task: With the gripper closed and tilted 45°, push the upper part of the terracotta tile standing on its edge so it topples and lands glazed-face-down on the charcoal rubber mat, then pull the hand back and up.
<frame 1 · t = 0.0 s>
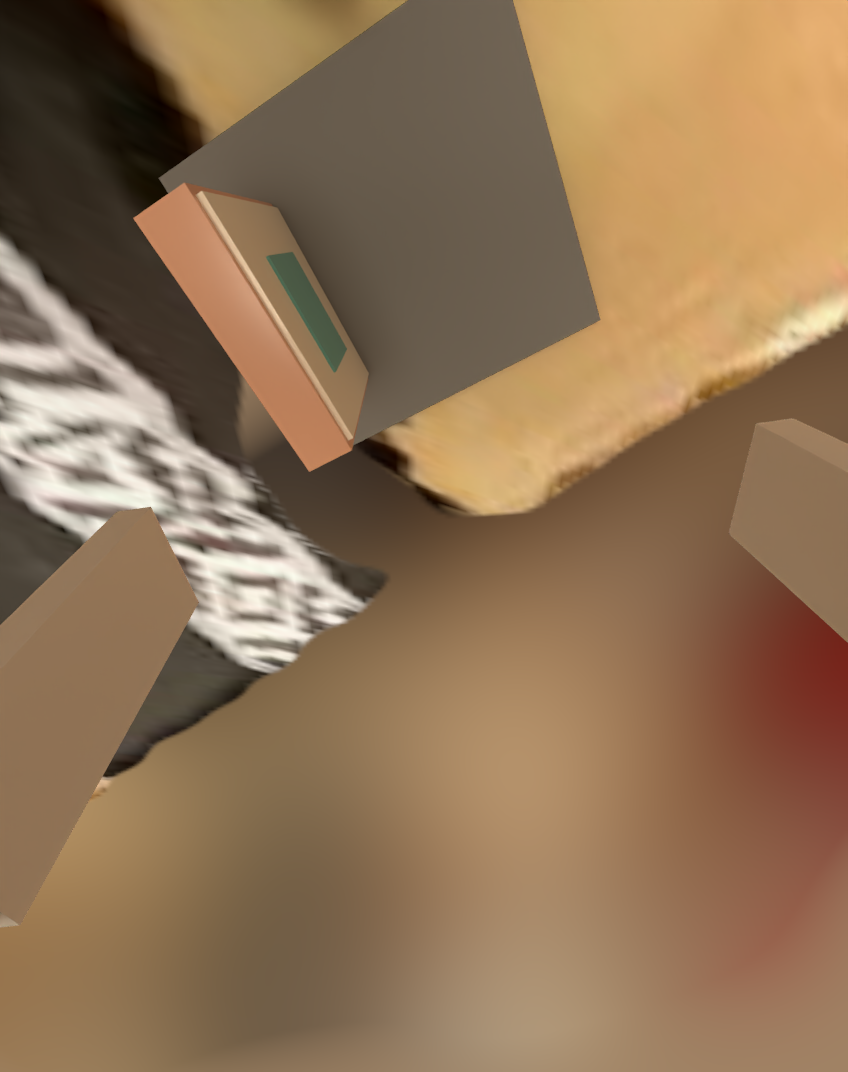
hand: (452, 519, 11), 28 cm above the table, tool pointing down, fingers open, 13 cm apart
mat: (398, 254, 32), on the table
tile: (308, 308, 33), point 1 cm above the table, touching mat
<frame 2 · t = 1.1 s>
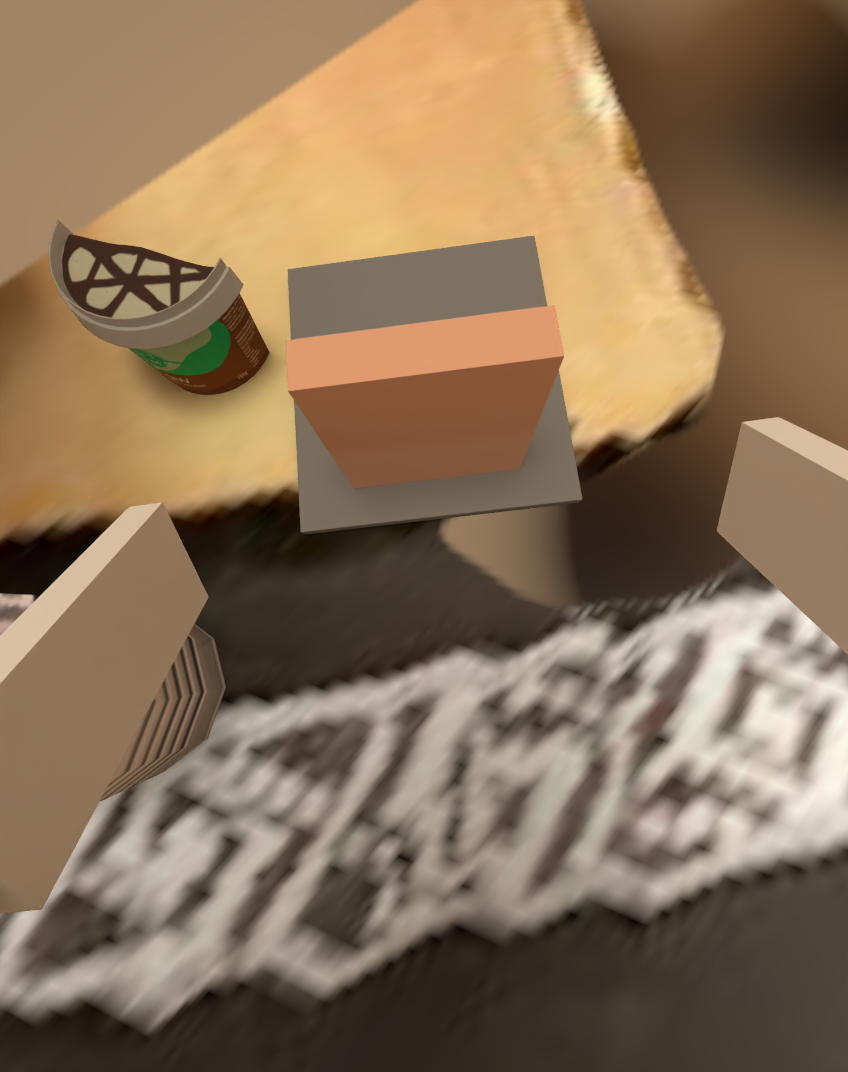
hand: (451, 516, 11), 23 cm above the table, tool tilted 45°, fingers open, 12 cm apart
food container: (203, 373, 38), on the table
mat: (424, 381, 37), on the table
tile: (434, 462, 35), point 1 cm above the table, touching mat
can: (149, 688, 33), on the table
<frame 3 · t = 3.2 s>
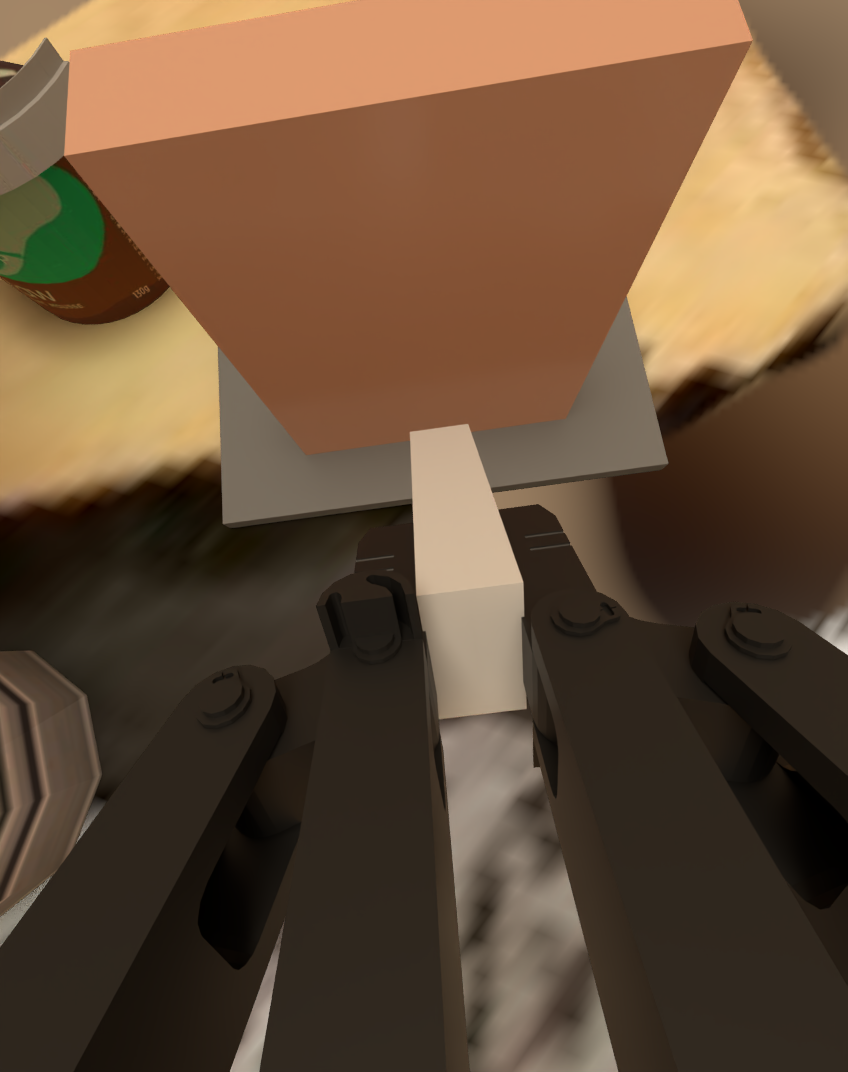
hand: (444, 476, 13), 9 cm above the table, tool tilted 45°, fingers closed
food container: (89, 295, 26), on the table
mat: (414, 295, 24), on the table
tile: (431, 412, 22), point 1 cm above the table, touching mat
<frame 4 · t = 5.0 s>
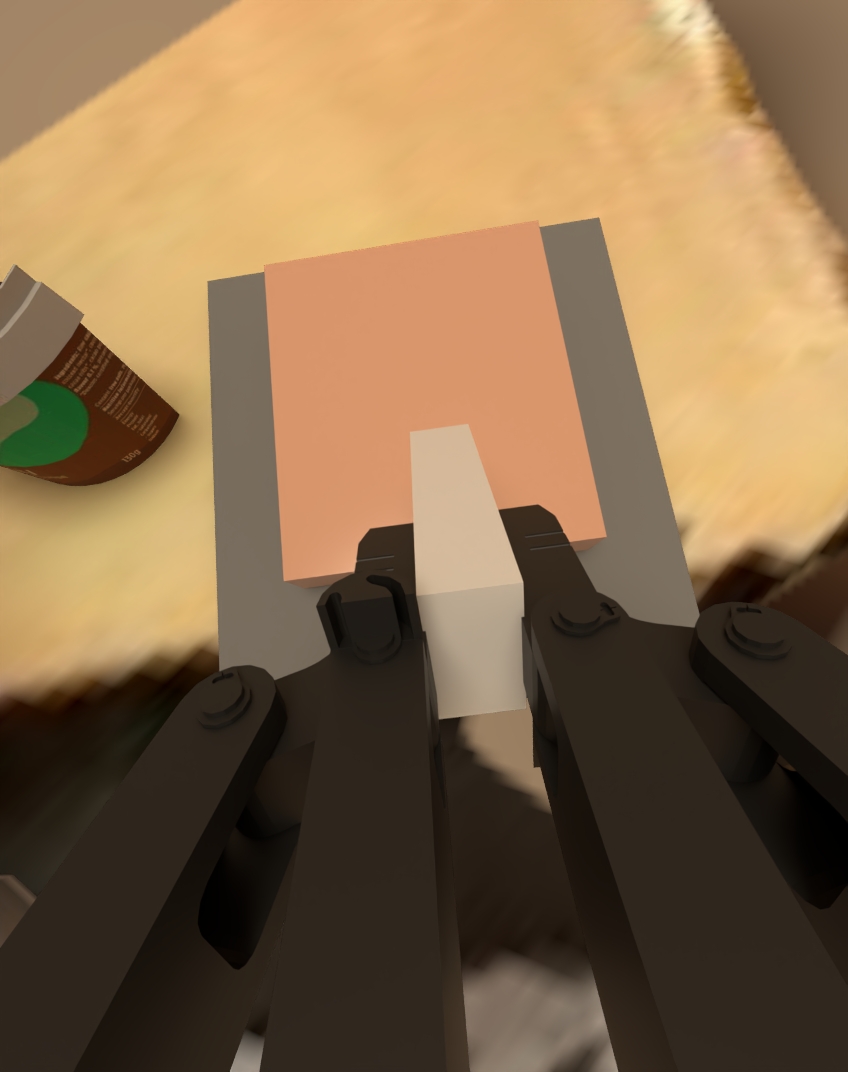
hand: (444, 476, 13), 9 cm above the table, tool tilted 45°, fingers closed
food container: (76, 449, 24), on the table
mat: (429, 458, 22), on the table
tile: (444, 564, 19), point 2 cm above the table, tilted 90°, touching mat
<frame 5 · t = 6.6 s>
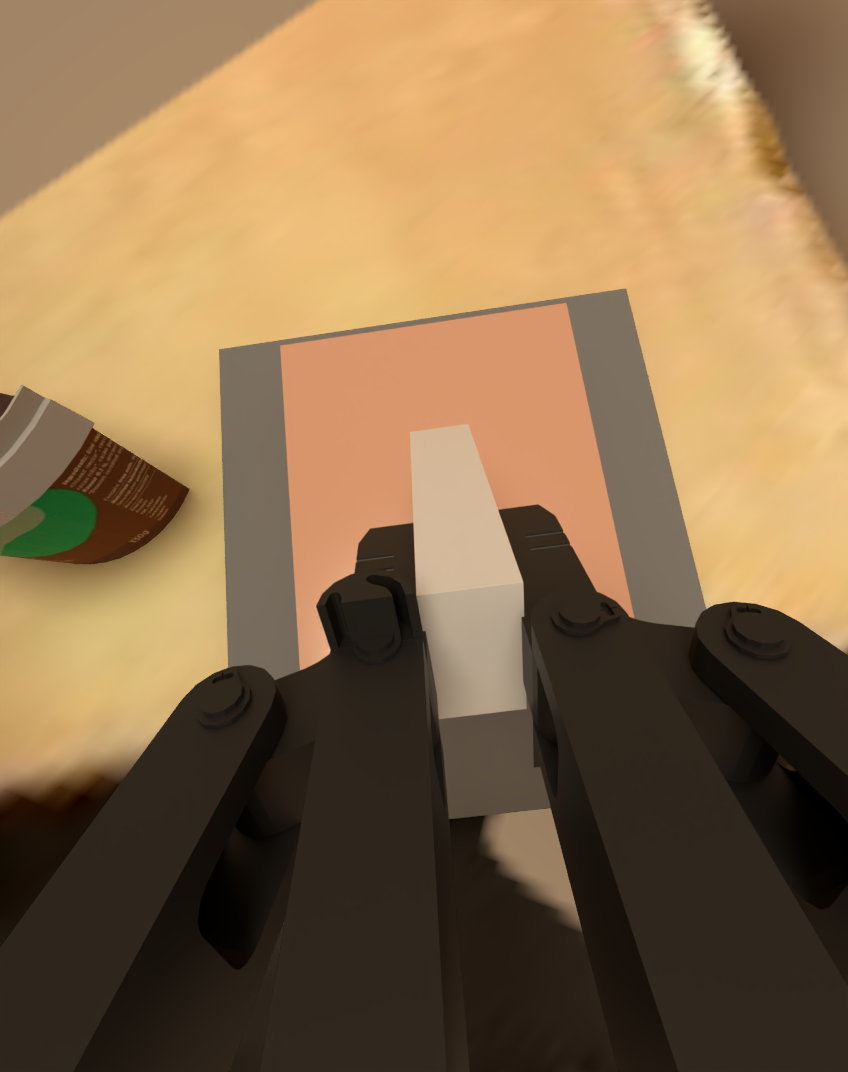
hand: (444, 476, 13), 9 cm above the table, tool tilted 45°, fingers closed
food container: (81, 524, 23), on the table
mat: (449, 542, 22), on the table
tile: (468, 669, 18), point 2 cm above the table, tilted 90°, touching mat
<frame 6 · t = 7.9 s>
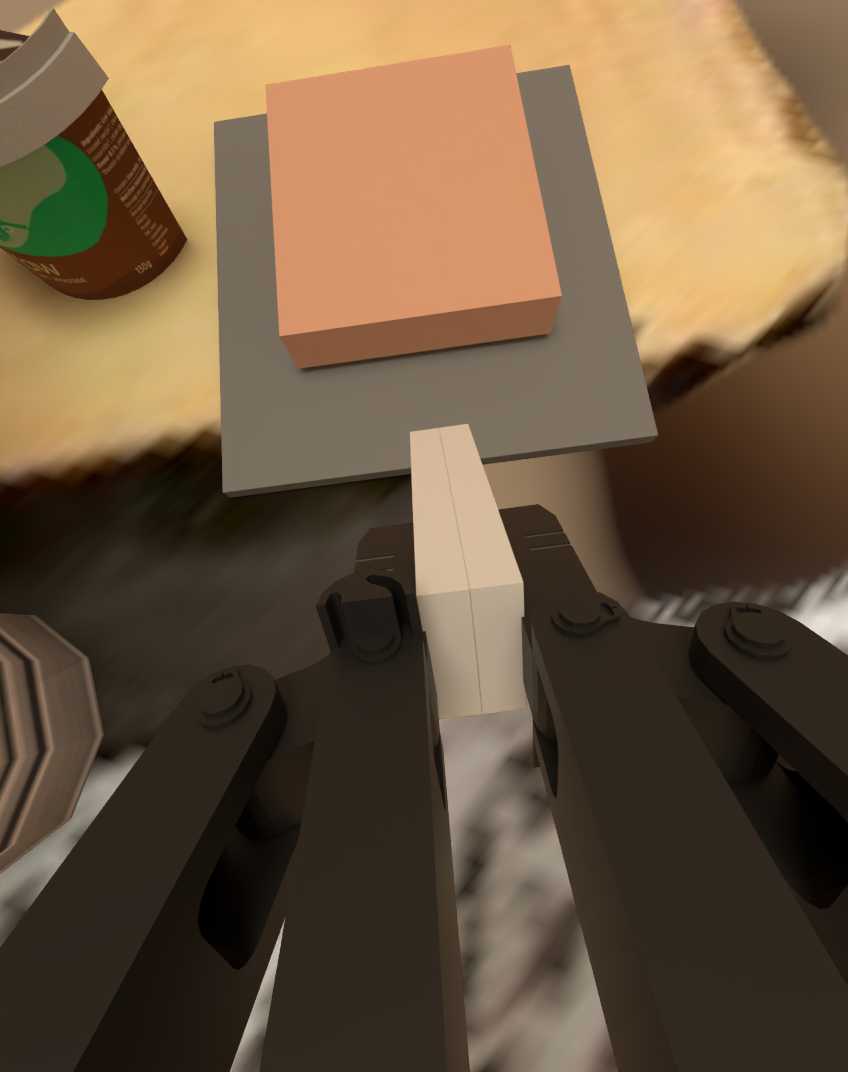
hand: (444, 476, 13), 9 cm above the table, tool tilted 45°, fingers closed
food container: (92, 271, 27), on the table
mat: (412, 272, 25), on the table
tile: (421, 334, 21), point 2 cm above the table, tilted 90°, touching mat
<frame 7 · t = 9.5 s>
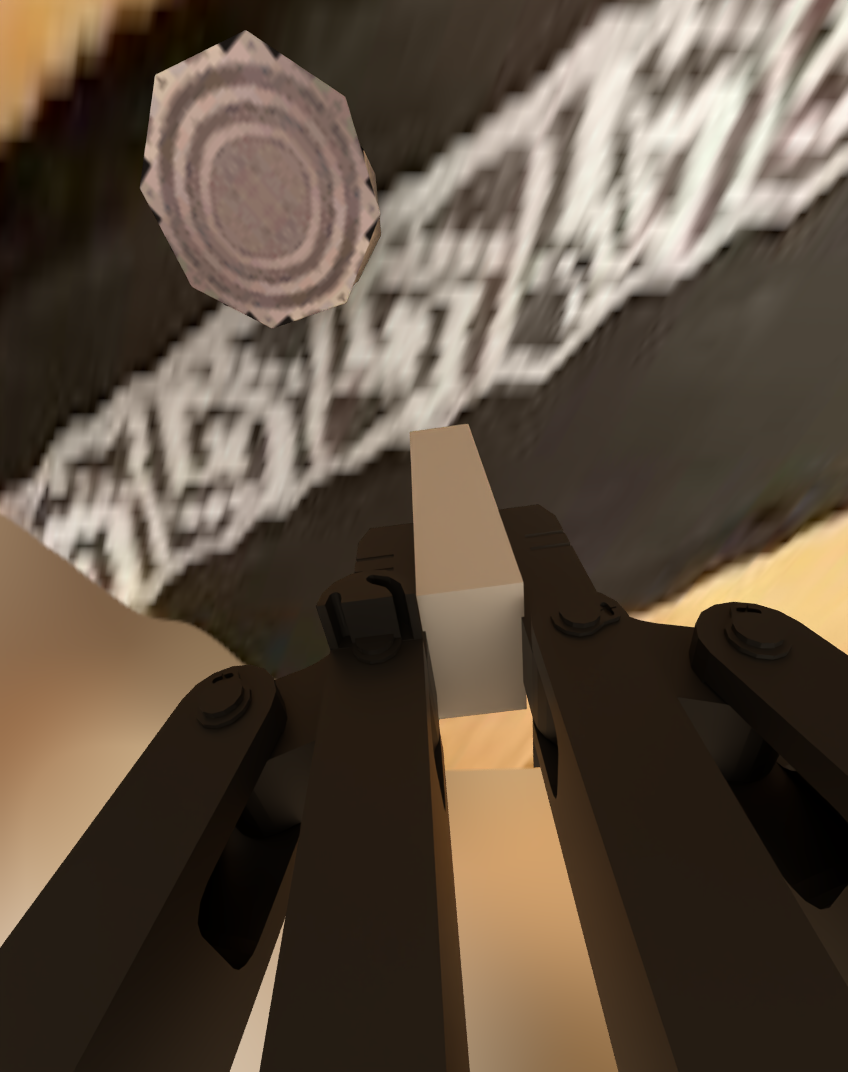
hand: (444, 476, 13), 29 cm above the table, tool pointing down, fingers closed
can: (303, 211, 34), on the table
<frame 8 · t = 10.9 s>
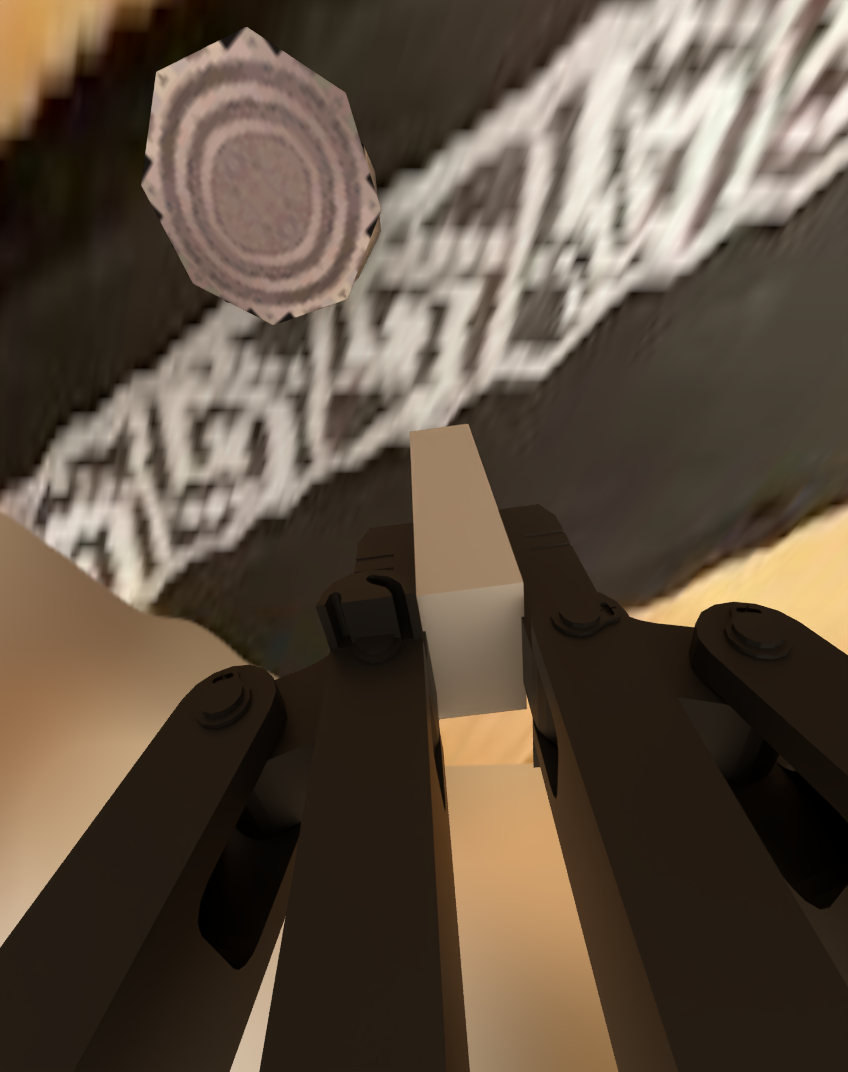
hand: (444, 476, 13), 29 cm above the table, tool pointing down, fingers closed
can: (302, 208, 34), on the table
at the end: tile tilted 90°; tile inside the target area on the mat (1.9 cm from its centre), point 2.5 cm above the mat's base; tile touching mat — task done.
